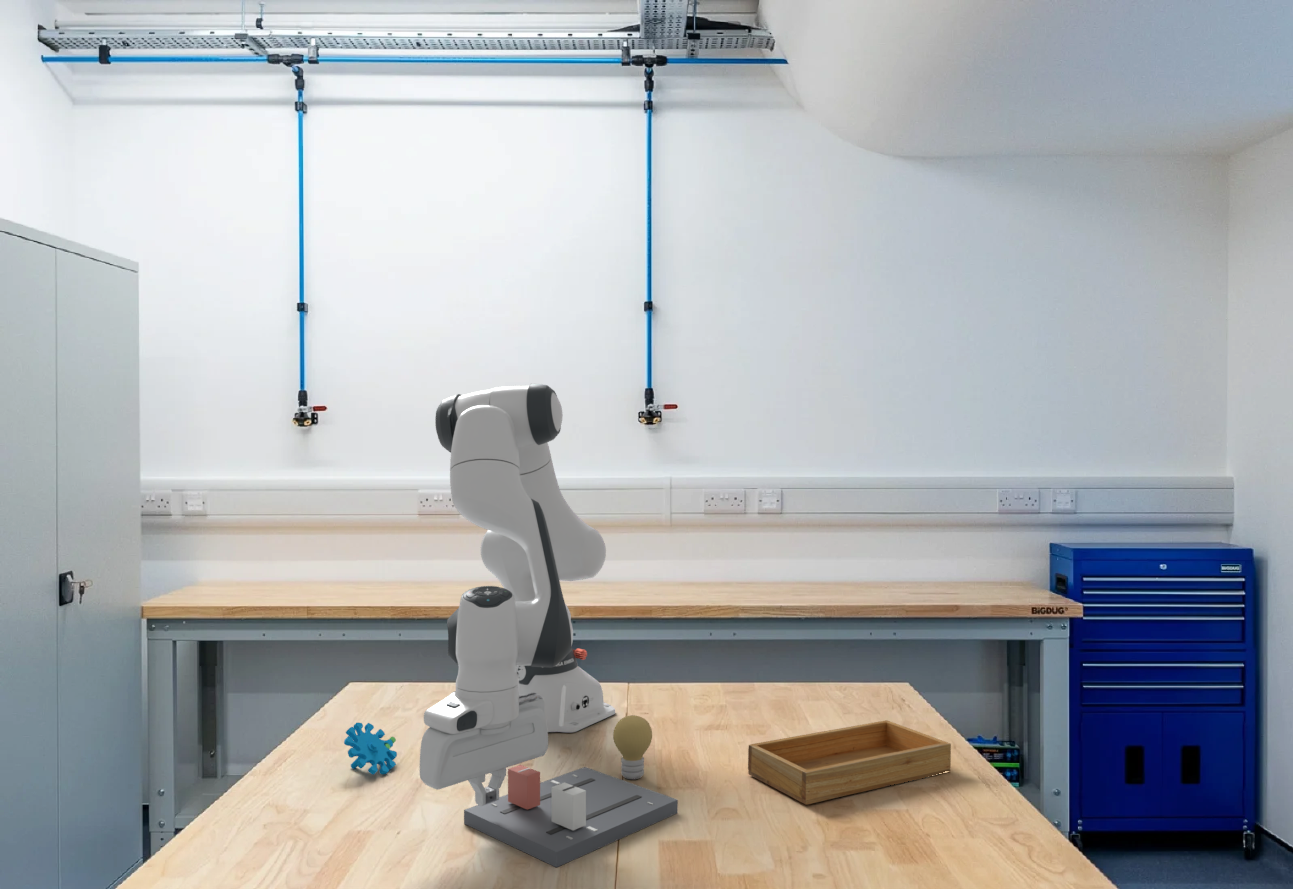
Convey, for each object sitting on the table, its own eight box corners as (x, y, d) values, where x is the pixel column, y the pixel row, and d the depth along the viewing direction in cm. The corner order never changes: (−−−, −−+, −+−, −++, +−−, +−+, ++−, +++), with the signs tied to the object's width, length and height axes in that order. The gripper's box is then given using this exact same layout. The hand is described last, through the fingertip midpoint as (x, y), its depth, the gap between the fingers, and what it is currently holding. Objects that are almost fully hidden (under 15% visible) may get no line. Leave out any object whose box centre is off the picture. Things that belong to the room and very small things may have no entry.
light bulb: (657, 772, 155) (657, 712, 155) (644, 786, 149) (644, 724, 149) (621, 768, 158) (621, 709, 157) (607, 781, 151) (607, 719, 151)
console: (585, 779, 152) (585, 766, 152) (677, 813, 139) (677, 798, 139) (464, 823, 135) (464, 809, 135) (556, 867, 121) (556, 851, 121)
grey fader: (564, 816, 132) (564, 781, 132) (585, 825, 129) (585, 789, 129) (551, 821, 130) (551, 786, 130) (572, 830, 127) (573, 794, 127)
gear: (368, 775, 150) (339, 723, 153) (345, 797, 151) (317, 746, 155) (413, 763, 159) (385, 715, 163) (391, 784, 161) (364, 736, 165)
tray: (886, 748, 169) (886, 717, 169) (951, 775, 156) (951, 741, 156) (747, 778, 154) (747, 744, 154) (805, 810, 141) (805, 773, 141)
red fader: (520, 796, 139) (520, 764, 139) (540, 804, 136) (540, 771, 136) (507, 801, 137) (508, 768, 137) (527, 809, 134) (527, 775, 134)
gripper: (529, 686, 141) (529, 777, 141) (413, 715, 126) (413, 817, 127) (557, 694, 137) (557, 787, 137) (440, 725, 122) (440, 830, 122)
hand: (487, 802), depth 132 cm, fingers closed
